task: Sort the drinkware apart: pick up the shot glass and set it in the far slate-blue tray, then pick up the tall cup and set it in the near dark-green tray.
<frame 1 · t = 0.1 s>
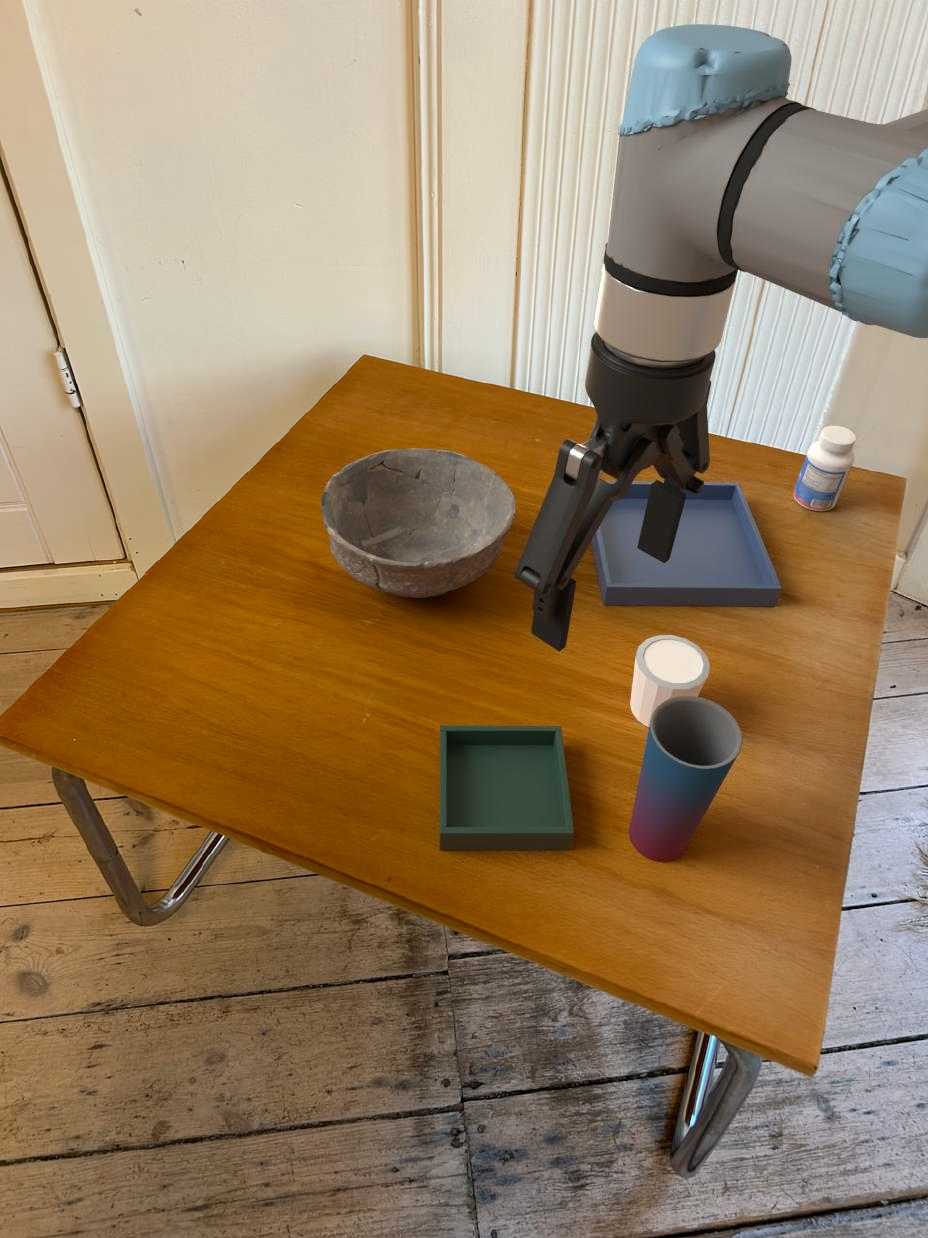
hand: (603, 594, 67), 20 cm above the table, tool pointing down, fingers open, 13 cm apart
near tray: (501, 794, 77), on the table
bowl: (418, 570, 98), on the table
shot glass: (658, 709, 85), on the table
cup: (657, 837, 75), on the table
pill bottle: (813, 500, 110), on the table
far tray: (673, 549, 102), on the table
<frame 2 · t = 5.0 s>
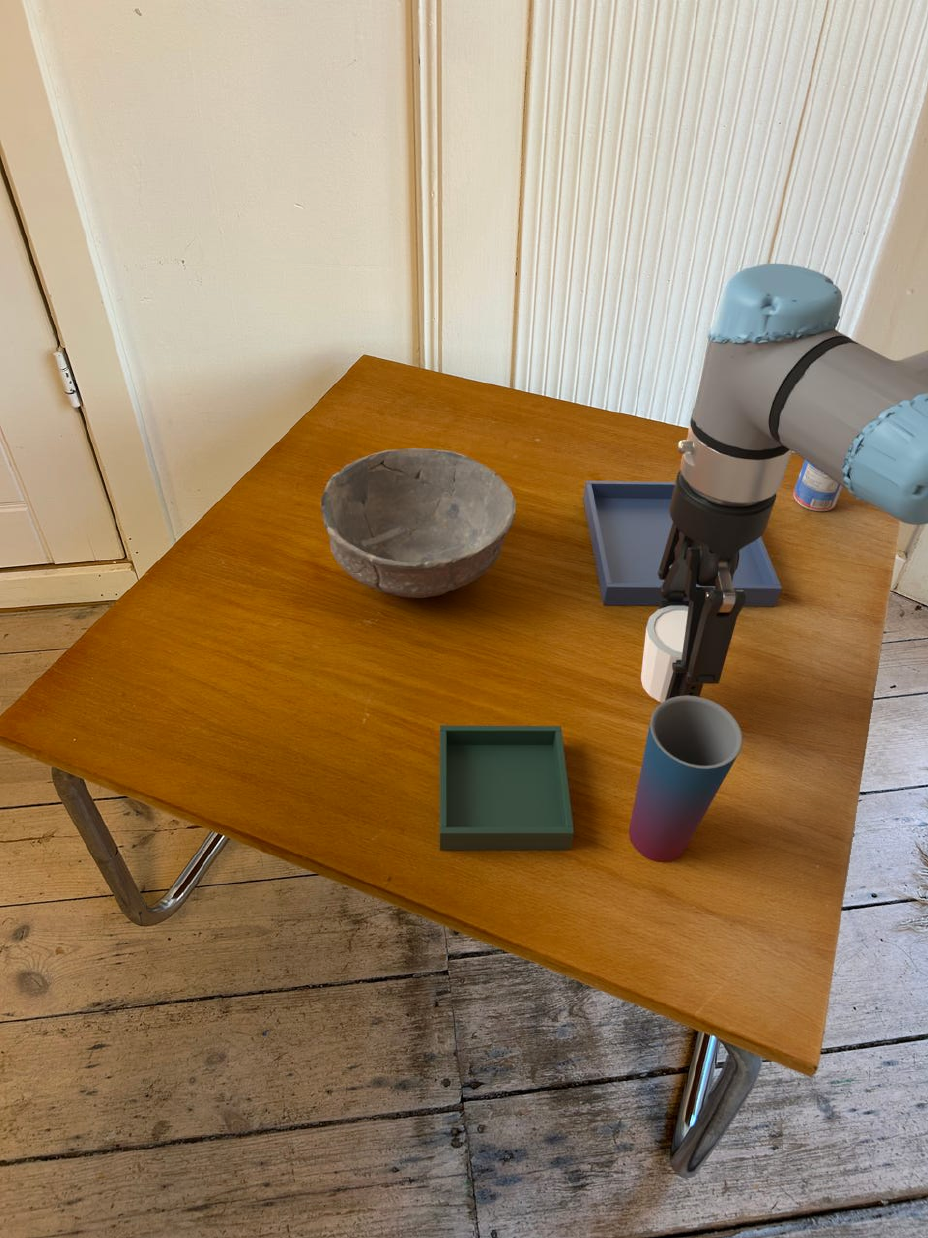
hand: (670, 680, 81), 5 cm above the table, tool pointing down, fingers closed on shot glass, 7 cm apart
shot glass: (670, 683, 82), point 4 cm above the table, touching gripper
everything else where it was.
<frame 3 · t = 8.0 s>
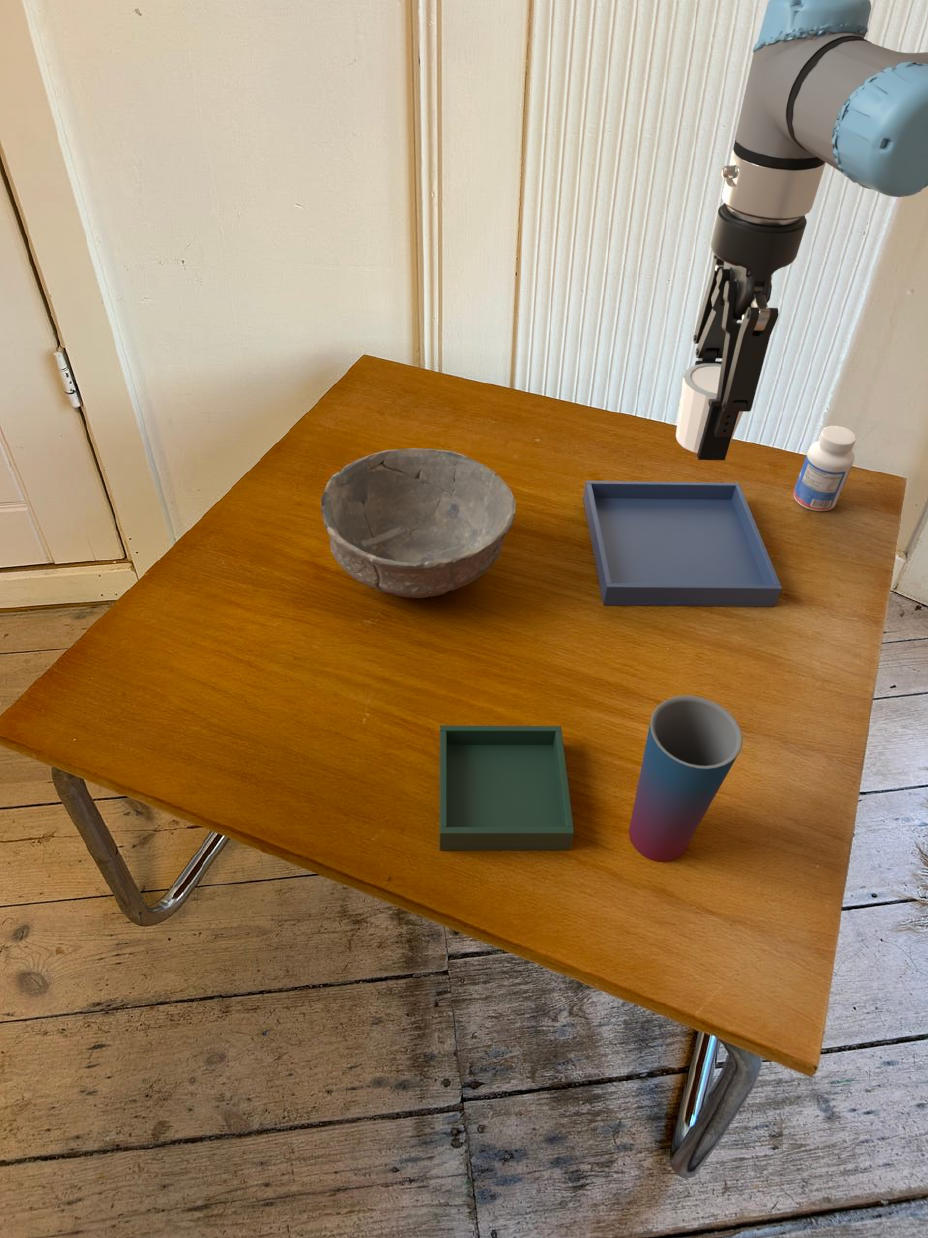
hand: (702, 436, 90), 16 cm above the table, tool pointing down, fingers closed on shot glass, 7 cm apart
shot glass: (702, 440, 90), point 15 cm above the table, touching gripper
everything else where it was.
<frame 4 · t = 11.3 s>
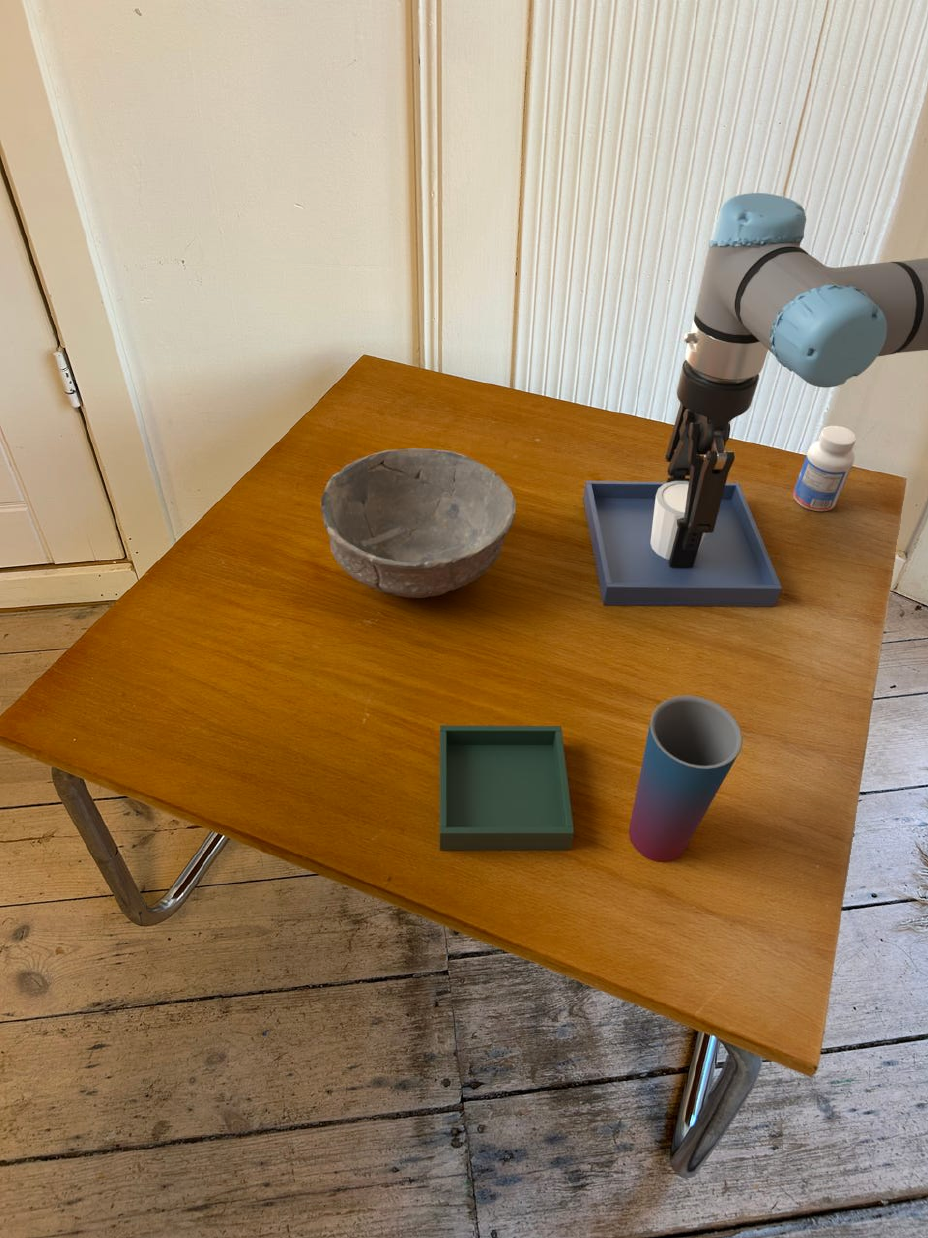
hand: (674, 543, 101), 1 cm above the table, tool pointing down, fingers closed on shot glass, 7 cm apart
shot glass: (674, 546, 102), resting on far tray, touching gripper
everything else where it was.
when the fingers open (1 cm above the table, at t = 11.5 s): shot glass stays where it is, resting on far tray.
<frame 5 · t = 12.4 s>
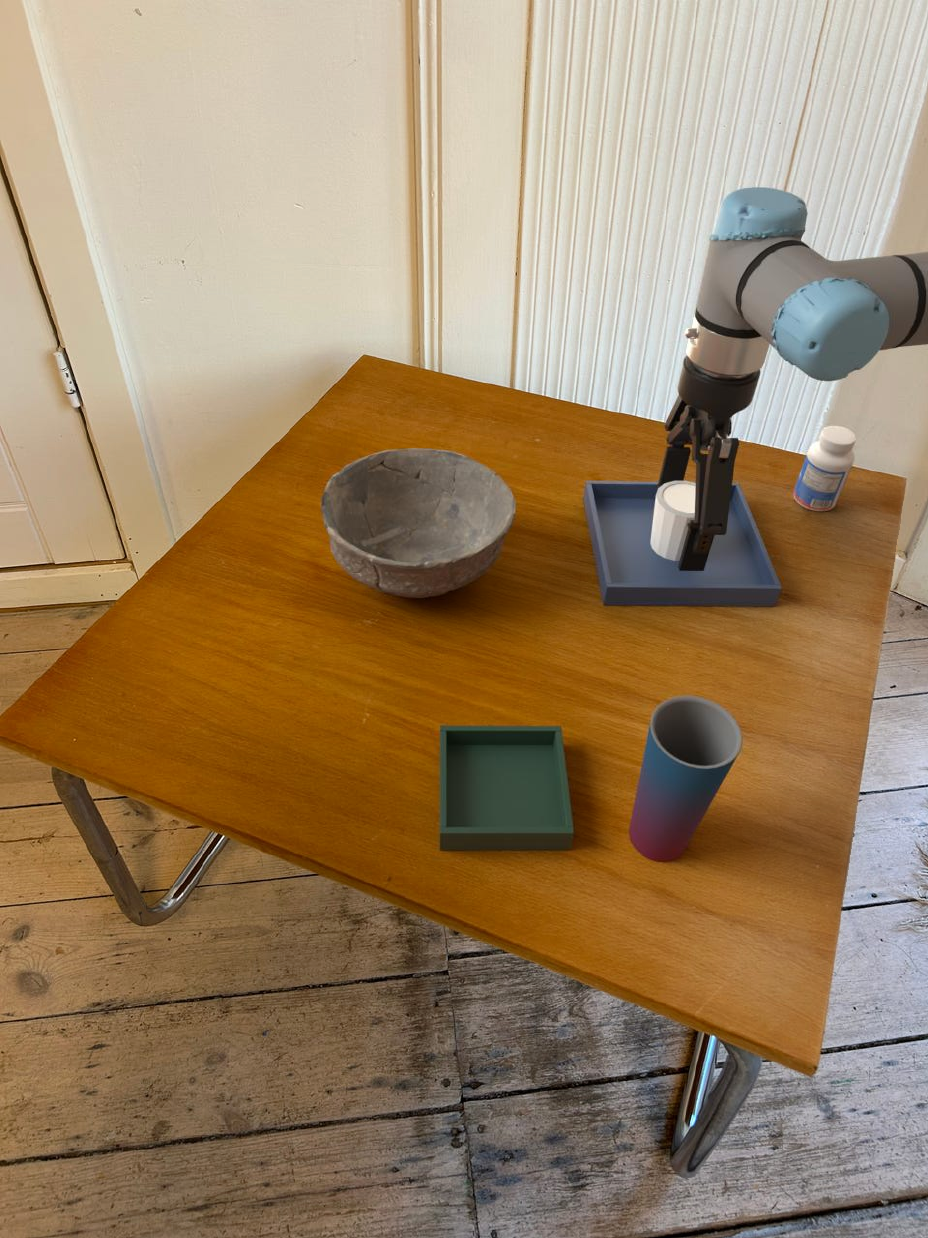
hand: (678, 529, 100), 3 cm above the table, tool pointing down, fingers open, 13 cm apart
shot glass: (673, 546, 102), resting on far tray
everything else where it was.
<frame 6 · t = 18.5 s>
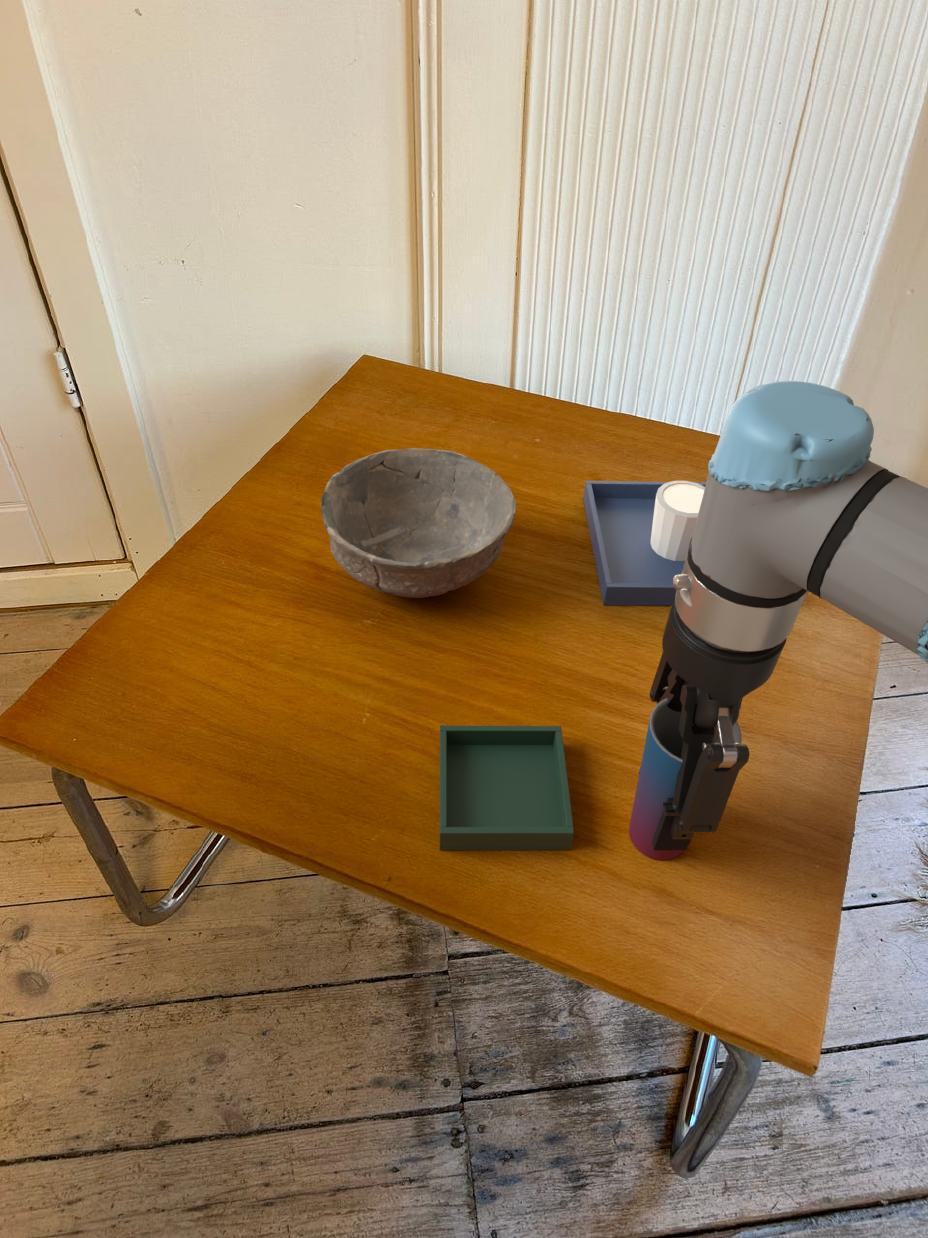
hand: (661, 810, 72), 4 cm above the table, tool pointing down, fingers closed on cup, 6 cm apart
cup: (657, 835, 75), on the table, touching gripper
everything else where it was.
when the fingers open (4 cm above the table, at t = 25.8 s): cup stays where it is, resting on near tray.
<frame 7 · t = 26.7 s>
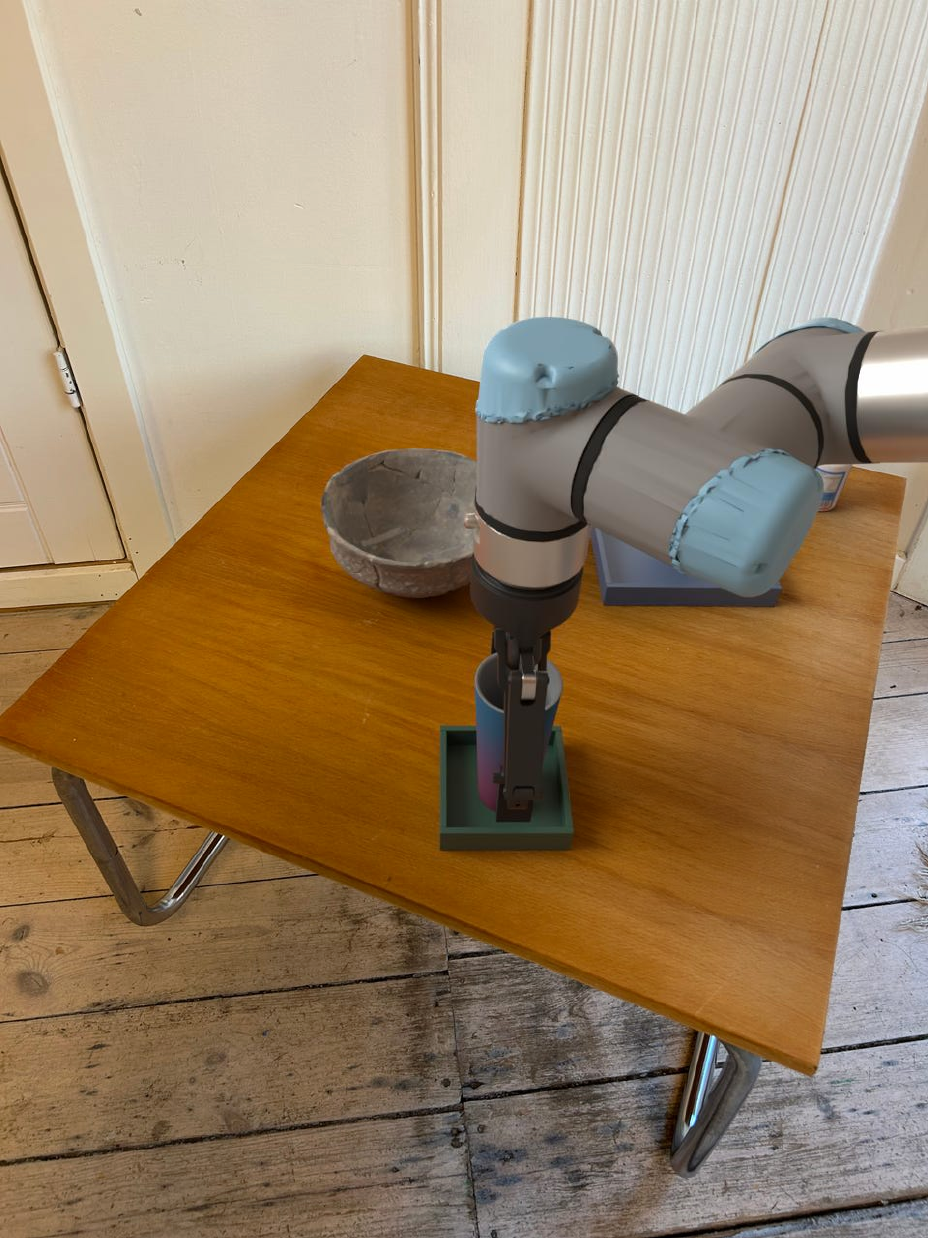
hand: (508, 747, 72), 7 cm above the table, tool pointing down, fingers open, 13 cm apart
cup: (506, 791, 77), resting on near tray
everything else where it was.
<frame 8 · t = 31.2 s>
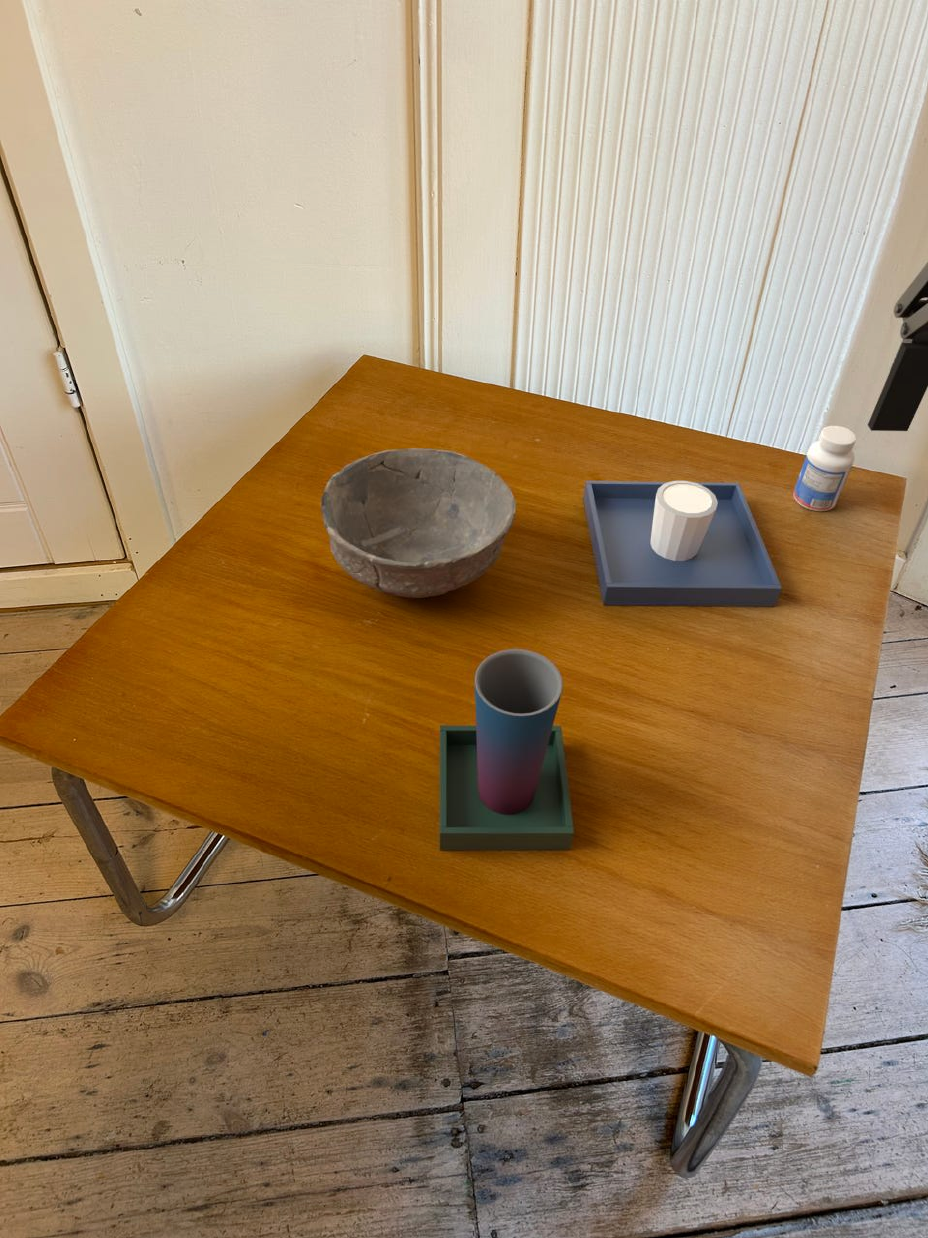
hand: (923, 484, 58), 32 cm above the table, tool pointing down, fingers open, 13 cm apart
nothing on the table moved.
at the end: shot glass inside the target area in the far tray (0.0 cm from its centre), point 0.4 cm above the far tray's base; cup inside the target area in the near tray (0.4 cm from its centre), point 0.4 cm above the near tray's base; cup tilted 0° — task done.
